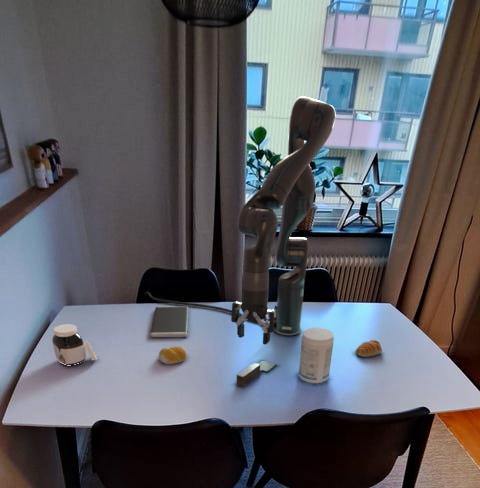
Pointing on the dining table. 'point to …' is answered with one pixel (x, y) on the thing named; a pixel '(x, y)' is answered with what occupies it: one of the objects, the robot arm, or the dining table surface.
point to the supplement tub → (315, 355)
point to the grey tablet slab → (170, 322)
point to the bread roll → (172, 355)
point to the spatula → (253, 372)
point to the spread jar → (70, 346)
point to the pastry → (369, 348)
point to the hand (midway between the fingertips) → (253, 340)
